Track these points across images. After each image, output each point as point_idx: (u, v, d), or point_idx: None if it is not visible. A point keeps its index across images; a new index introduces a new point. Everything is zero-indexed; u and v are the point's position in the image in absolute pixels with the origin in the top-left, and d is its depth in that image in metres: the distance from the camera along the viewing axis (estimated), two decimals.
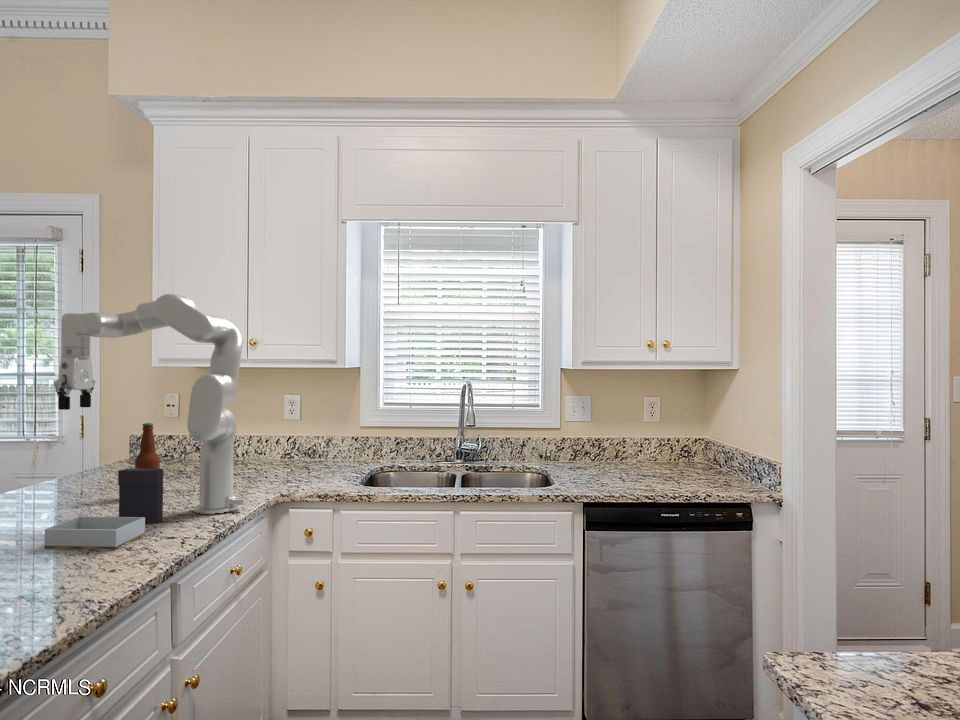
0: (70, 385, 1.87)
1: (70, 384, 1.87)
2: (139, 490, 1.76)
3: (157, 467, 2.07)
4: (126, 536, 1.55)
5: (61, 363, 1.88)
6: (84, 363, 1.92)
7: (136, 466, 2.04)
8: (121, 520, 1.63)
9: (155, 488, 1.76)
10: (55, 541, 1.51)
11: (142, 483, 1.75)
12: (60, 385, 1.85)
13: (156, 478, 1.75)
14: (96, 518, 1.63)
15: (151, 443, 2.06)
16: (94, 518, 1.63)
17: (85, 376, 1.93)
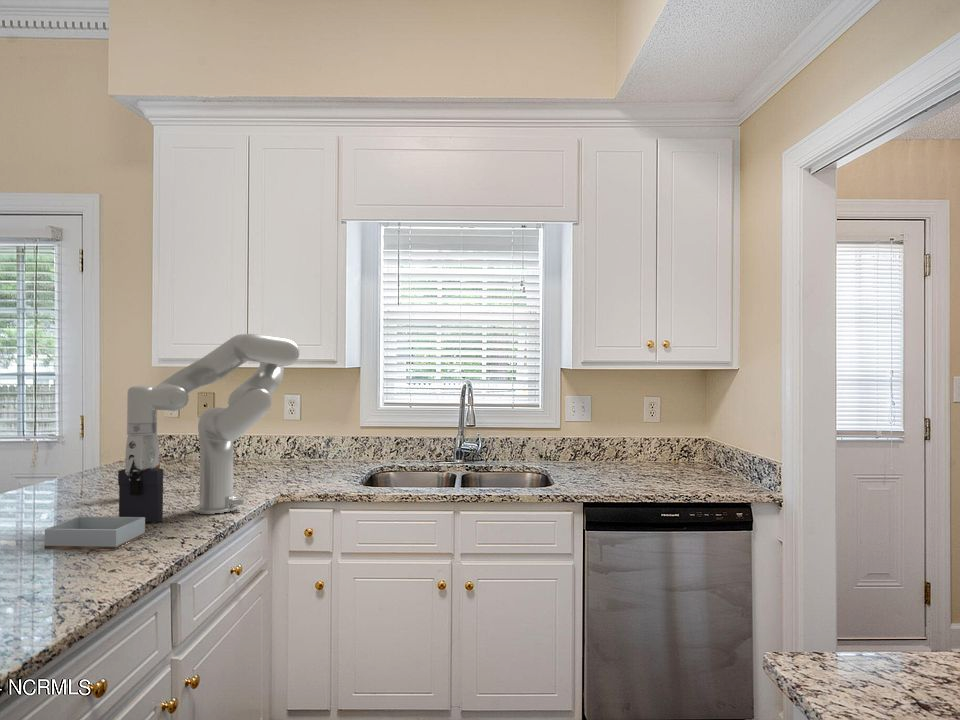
0: (138, 466, 1.72)
1: (138, 465, 1.72)
2: None
3: (157, 467, 2.07)
4: (126, 536, 1.55)
5: (128, 442, 1.73)
6: (151, 440, 1.77)
7: None
8: (121, 520, 1.63)
9: (155, 488, 1.76)
10: (55, 541, 1.51)
11: (142, 483, 1.75)
12: (132, 471, 1.71)
13: (156, 478, 1.75)
14: (96, 518, 1.63)
15: None
16: (94, 518, 1.63)
17: (152, 454, 1.78)
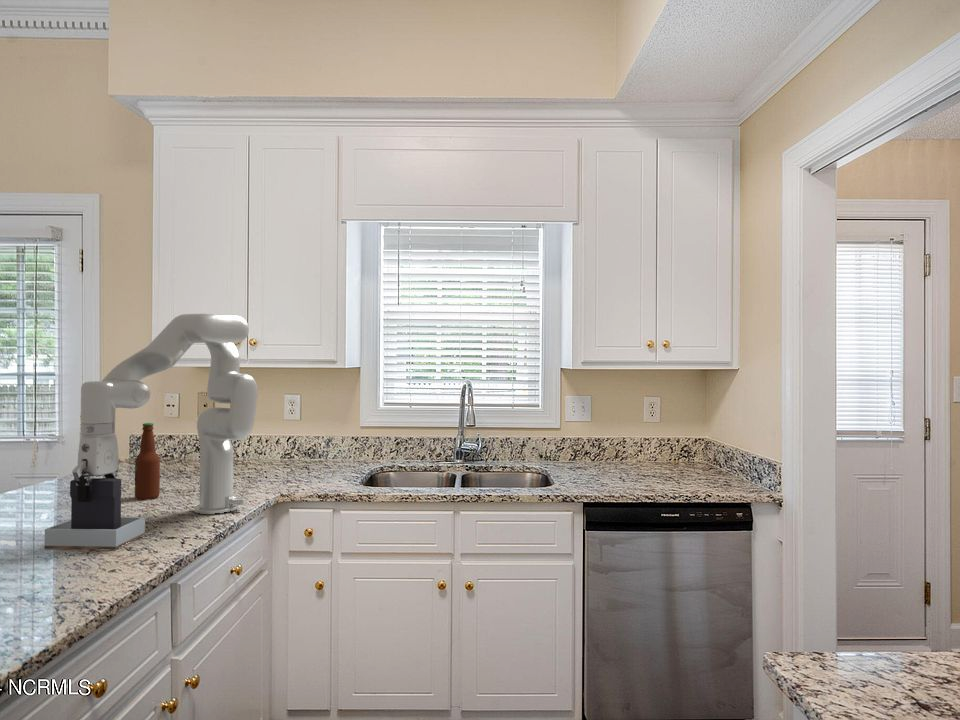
0: (92, 471, 1.52)
1: (92, 470, 1.52)
2: (93, 503, 1.55)
3: (157, 467, 2.07)
4: (126, 536, 1.55)
5: (81, 444, 1.53)
6: (108, 442, 1.57)
7: (136, 466, 2.04)
8: (121, 520, 1.63)
9: (110, 501, 1.55)
10: (55, 541, 1.51)
11: (97, 495, 1.54)
12: (80, 473, 1.50)
13: (112, 489, 1.54)
14: None
15: (151, 443, 2.06)
16: None
17: (109, 458, 1.58)
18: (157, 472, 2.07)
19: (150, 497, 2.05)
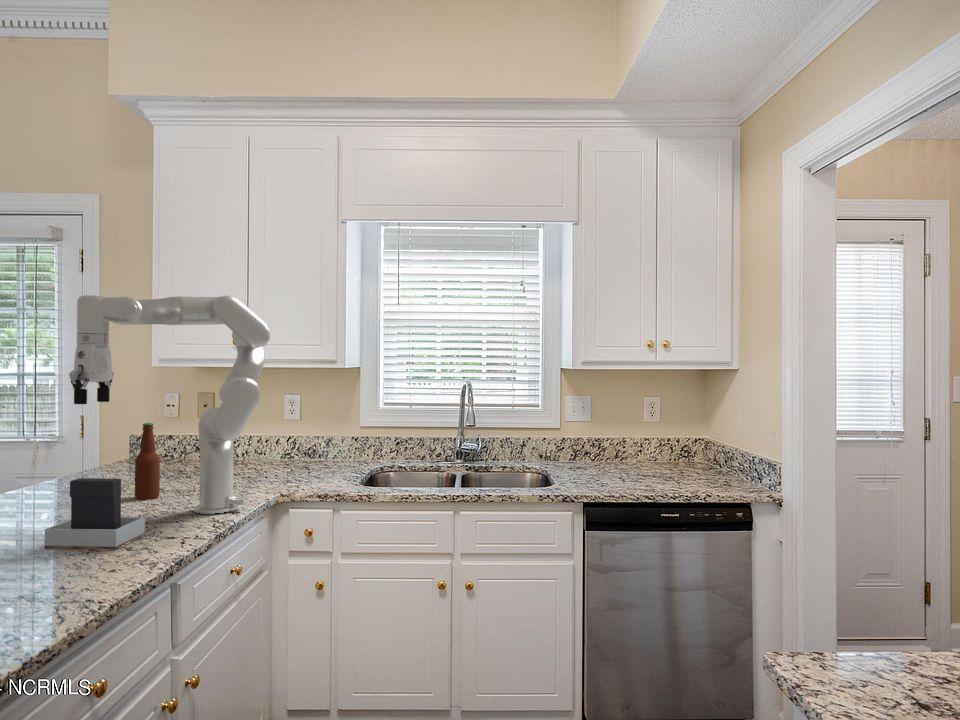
0: (88, 376, 1.65)
1: (87, 375, 1.65)
2: (93, 503, 1.55)
3: (157, 467, 2.07)
4: (126, 536, 1.55)
5: (77, 352, 1.66)
6: (102, 352, 1.70)
7: (136, 466, 2.04)
8: (121, 520, 1.63)
9: (110, 501, 1.55)
10: (55, 541, 1.51)
11: (96, 495, 1.54)
12: (76, 376, 1.63)
13: (111, 489, 1.54)
14: None
15: (151, 443, 2.06)
16: None
17: (103, 367, 1.71)
18: (157, 472, 2.07)
19: (150, 497, 2.05)
